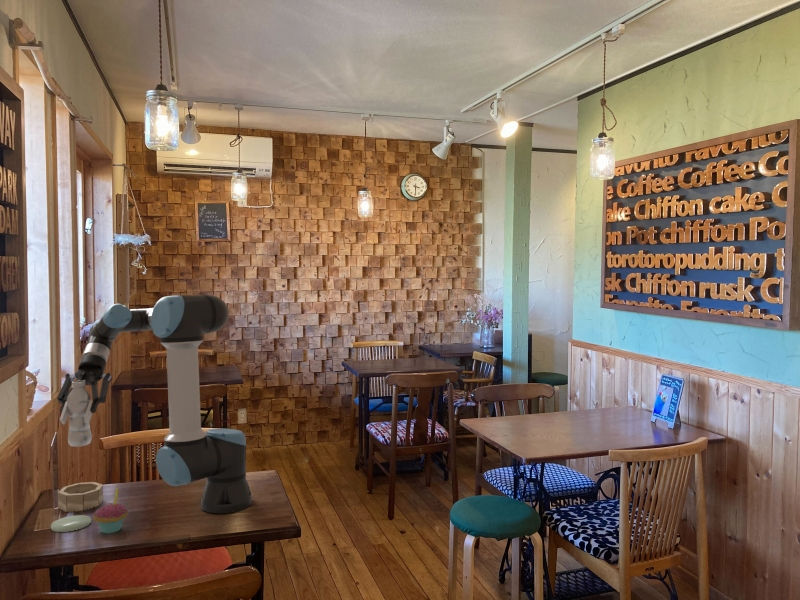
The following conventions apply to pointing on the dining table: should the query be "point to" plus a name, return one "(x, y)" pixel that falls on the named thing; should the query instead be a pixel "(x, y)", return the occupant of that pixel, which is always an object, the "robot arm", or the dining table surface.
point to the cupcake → (111, 516)
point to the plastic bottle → (78, 415)
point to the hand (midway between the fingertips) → (74, 421)
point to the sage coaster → (70, 523)
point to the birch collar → (80, 496)
